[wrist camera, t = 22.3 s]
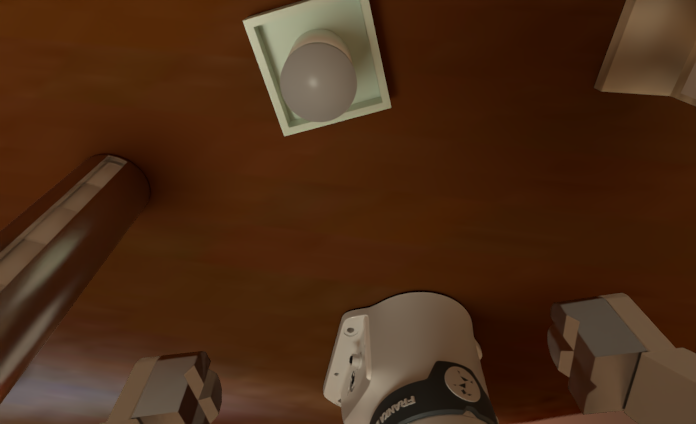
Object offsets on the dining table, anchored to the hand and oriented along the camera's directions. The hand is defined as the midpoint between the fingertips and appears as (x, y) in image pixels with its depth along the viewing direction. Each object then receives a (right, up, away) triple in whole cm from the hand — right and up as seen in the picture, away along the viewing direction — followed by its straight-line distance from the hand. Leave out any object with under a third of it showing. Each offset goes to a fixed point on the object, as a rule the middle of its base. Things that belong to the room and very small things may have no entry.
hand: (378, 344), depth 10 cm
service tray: (-3, +16, +25) cm, 29 cm away
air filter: (-23, +6, +30) cm, 38 cm away
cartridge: (-3, +15, +24) cm, 29 cm away
